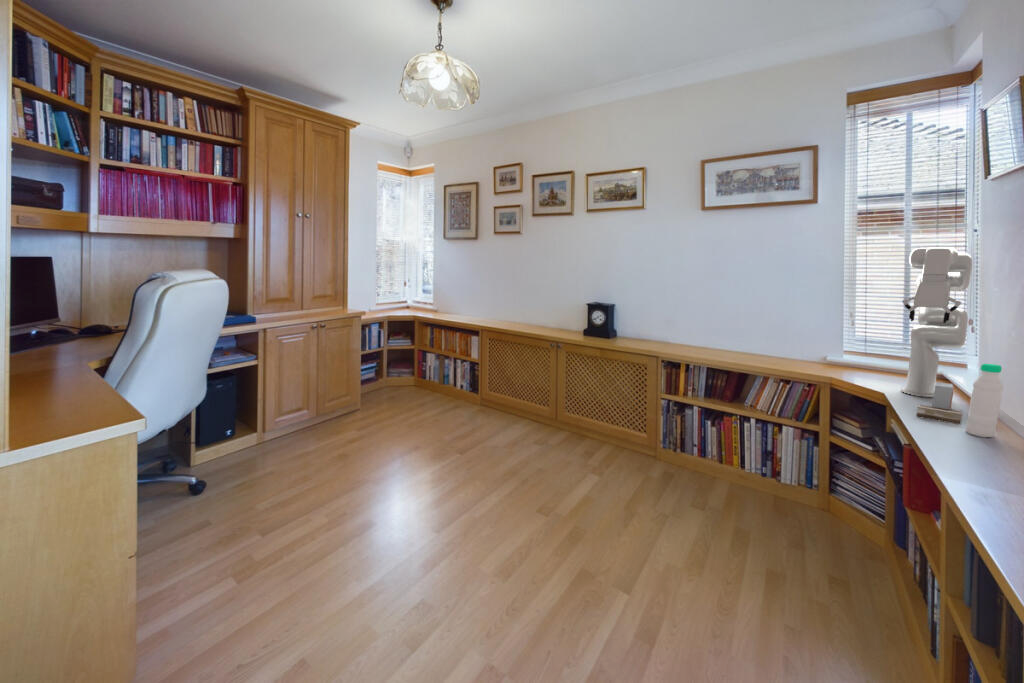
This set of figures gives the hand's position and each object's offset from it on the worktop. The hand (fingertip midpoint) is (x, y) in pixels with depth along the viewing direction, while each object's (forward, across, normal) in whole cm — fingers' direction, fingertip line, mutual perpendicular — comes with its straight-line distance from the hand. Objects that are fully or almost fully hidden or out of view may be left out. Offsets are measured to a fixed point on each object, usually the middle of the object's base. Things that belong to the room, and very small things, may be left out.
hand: (928, 321), depth 178 cm
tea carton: (+36, -7, -3) cm, 37 cm away
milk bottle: (+36, -19, +26) cm, 48 cm away
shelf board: (+36, -8, +10) cm, 38 cm away
